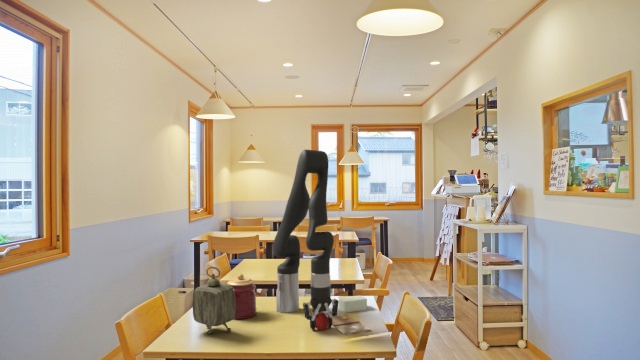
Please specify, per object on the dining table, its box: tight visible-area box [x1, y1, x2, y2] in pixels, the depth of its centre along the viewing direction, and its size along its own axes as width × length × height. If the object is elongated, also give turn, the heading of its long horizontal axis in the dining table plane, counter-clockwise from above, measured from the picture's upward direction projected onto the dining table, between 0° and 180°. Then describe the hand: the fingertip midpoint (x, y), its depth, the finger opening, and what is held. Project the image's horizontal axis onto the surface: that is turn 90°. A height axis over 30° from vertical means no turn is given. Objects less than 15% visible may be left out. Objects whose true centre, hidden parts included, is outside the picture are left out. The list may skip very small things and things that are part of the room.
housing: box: [338, 295, 368, 313], centre depth 190 cm, size 11×6×6 cm, turn 111°
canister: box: [226, 273, 257, 320], centre depth 187 cm, size 13×13×18 cm
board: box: [332, 314, 373, 337], centre depth 170 cm, size 11×22×1 cm, turn 21°
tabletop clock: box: [192, 266, 235, 335], centre depth 166 cm, size 14×9×25 cm, turn 59°
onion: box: [314, 311, 329, 331], centre depth 165 cm, size 6×6×8 cm
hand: (321, 328), depth 165 cm, fingers closed on onion, 6 cm apart
